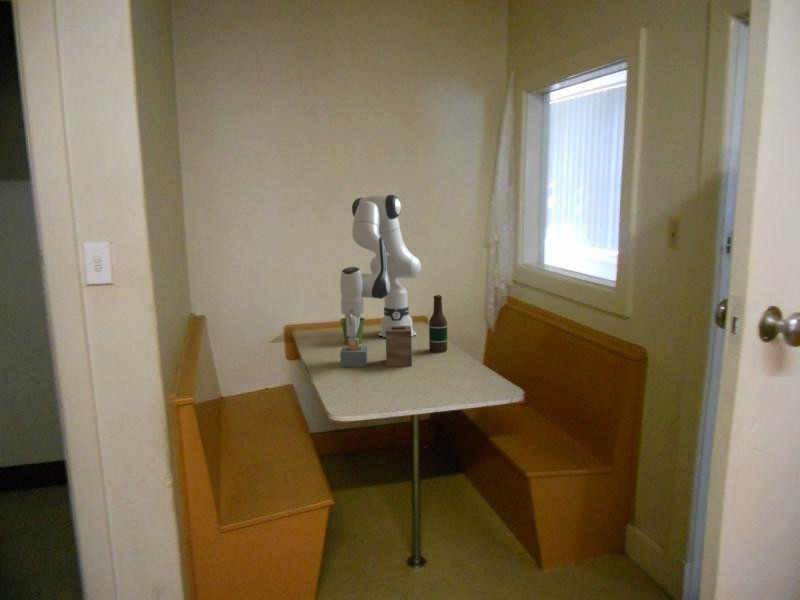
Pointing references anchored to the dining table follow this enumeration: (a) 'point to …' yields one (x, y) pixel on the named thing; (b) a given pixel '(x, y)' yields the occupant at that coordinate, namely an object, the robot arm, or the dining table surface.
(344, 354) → the low socket
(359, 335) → the plant pot
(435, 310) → the beer bottle
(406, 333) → the wood block with hole
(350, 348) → the peg
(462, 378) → the dining table surface
